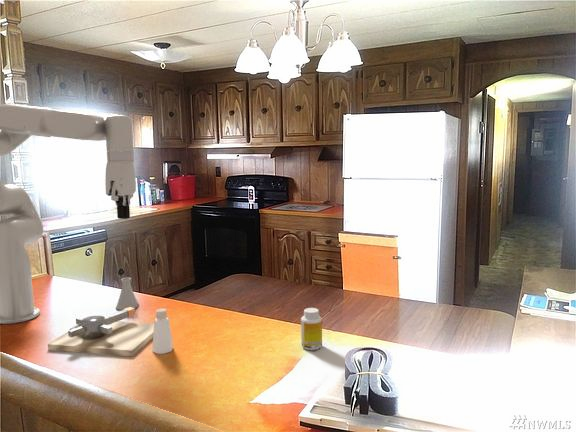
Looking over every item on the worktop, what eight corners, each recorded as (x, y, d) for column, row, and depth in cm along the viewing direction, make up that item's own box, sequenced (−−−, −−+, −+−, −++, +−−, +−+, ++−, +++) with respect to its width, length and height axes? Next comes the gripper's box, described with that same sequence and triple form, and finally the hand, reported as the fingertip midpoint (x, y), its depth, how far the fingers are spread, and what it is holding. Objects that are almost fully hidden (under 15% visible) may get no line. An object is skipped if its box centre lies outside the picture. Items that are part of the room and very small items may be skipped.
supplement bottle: (326, 348, 119) (325, 311, 118) (307, 352, 116) (307, 314, 115) (315, 341, 124) (315, 305, 123) (298, 345, 121) (297, 308, 120)
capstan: (86, 350, 114) (85, 333, 113) (55, 338, 121) (54, 322, 121) (149, 324, 131) (148, 309, 130) (118, 315, 138) (117, 301, 138)
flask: (131, 311, 147) (130, 282, 145) (111, 310, 148) (109, 281, 147) (142, 304, 154) (141, 276, 152) (123, 303, 155) (122, 275, 154)
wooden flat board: (48, 349, 118) (47, 339, 118) (88, 324, 136) (87, 314, 135) (132, 356, 115) (131, 345, 114) (162, 329, 132) (162, 319, 132)
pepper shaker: (154, 355, 115) (152, 315, 113) (150, 347, 120) (148, 308, 118) (175, 351, 117) (174, 311, 116) (170, 343, 122) (169, 305, 121)
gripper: (122, 157, 141) (124, 214, 144) (94, 157, 126) (98, 221, 129) (144, 157, 140) (146, 215, 142) (118, 157, 125) (122, 222, 128)
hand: (123, 218), depth 136 cm, fingers closed
